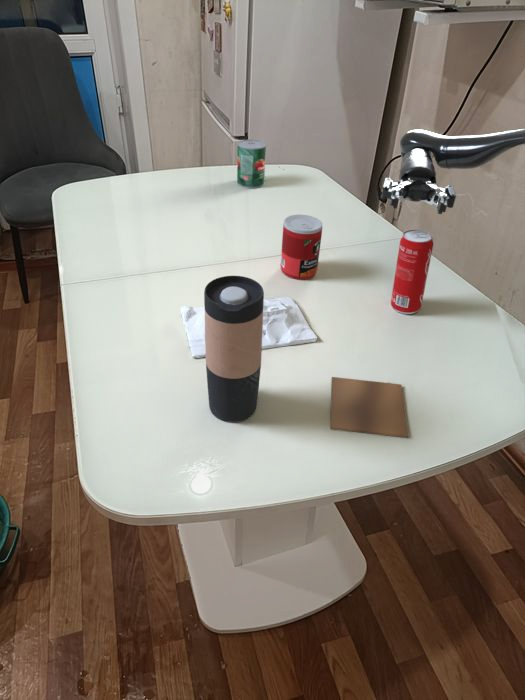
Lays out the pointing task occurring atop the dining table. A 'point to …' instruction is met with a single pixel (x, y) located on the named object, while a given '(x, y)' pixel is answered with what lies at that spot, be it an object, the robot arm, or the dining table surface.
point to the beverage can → (411, 271)
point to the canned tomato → (251, 163)
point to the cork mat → (368, 407)
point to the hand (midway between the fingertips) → (418, 206)
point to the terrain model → (278, 328)
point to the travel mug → (233, 346)
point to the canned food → (300, 246)
